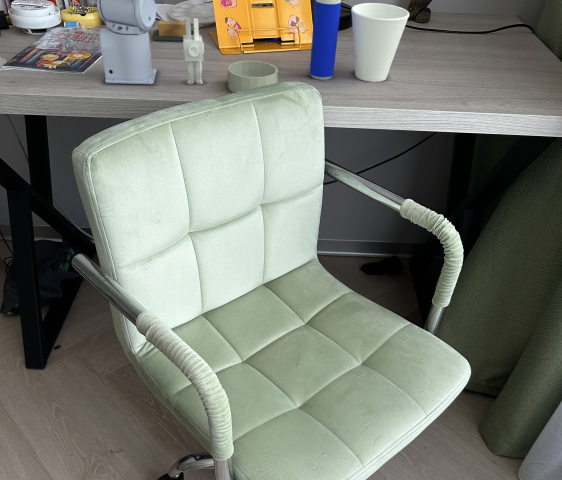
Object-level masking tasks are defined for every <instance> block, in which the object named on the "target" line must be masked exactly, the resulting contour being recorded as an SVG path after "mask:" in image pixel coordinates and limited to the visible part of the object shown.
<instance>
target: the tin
mask: <svg viewBox="0 0 562 480" xmlns="http://www.w3.org/2000/svg"><path fill="white" fill-rule="evenodd" d="M278 78H279V68H278V67H277V66H276V65H274V64H272V63H270V62H266V61H263V60H238V61H235V62H232V63H230V64H229V65H228V66H227V88H228V90H229V91H231V93H234V92H238V91H242V90H246V89H252V88H256V87H261V86H266V85H271V84H275V83H277V84H278V83H279V82H278V81H279V80H278Z"/></svg>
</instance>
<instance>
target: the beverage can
mask: <svg viewBox="0 0 562 480" xmlns="http://www.w3.org/2000/svg"><path fill="white" fill-rule="evenodd" d="M341 5H342V0H314V8H313V10H314V11H313V23H312V36H311V49H310V61H309V74H310V77H312V78H313V79H316V80H319V81H327V80H330V79H331V78H332V77H333V76H334V75H335V74H334V73H335V65H336V53H337V44H338V34H339V27H340V25H339V24H340V17H341V8H342V7H341Z"/></svg>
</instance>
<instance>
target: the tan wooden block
mask: <svg viewBox="0 0 562 480" xmlns="http://www.w3.org/2000/svg"><path fill="white" fill-rule="evenodd" d="M157 25H158V29H159V36H180V37H183V35H186V23H185V21H184V20H159V21H158V24H157Z"/></svg>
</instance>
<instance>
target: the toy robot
mask: <svg viewBox="0 0 562 480" xmlns="http://www.w3.org/2000/svg"><path fill="white" fill-rule="evenodd" d="M192 19H193V20H192V21H193V22H192V23H193V24H192V25H193V31H194V35H191V31H192V30H191V29H192V28H191V18H190V17H186V18H184V20H185V23H186V35H183V42H182V50H183V56H184V62H186V72H187V79H188V80H187V81H186V83H187V84H189V85H192V84H195V83H196V84H197V85H202V84H204V80H202V79H203V78H202V77H203V76H202V75H203V74H202V73H203V64H202V62H204V54H205V44H204V41H203V37H202V35H201V34H200V29H199V18H198V17H197V18H196V17H195V18H194V17H193V18H192Z"/></svg>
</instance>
